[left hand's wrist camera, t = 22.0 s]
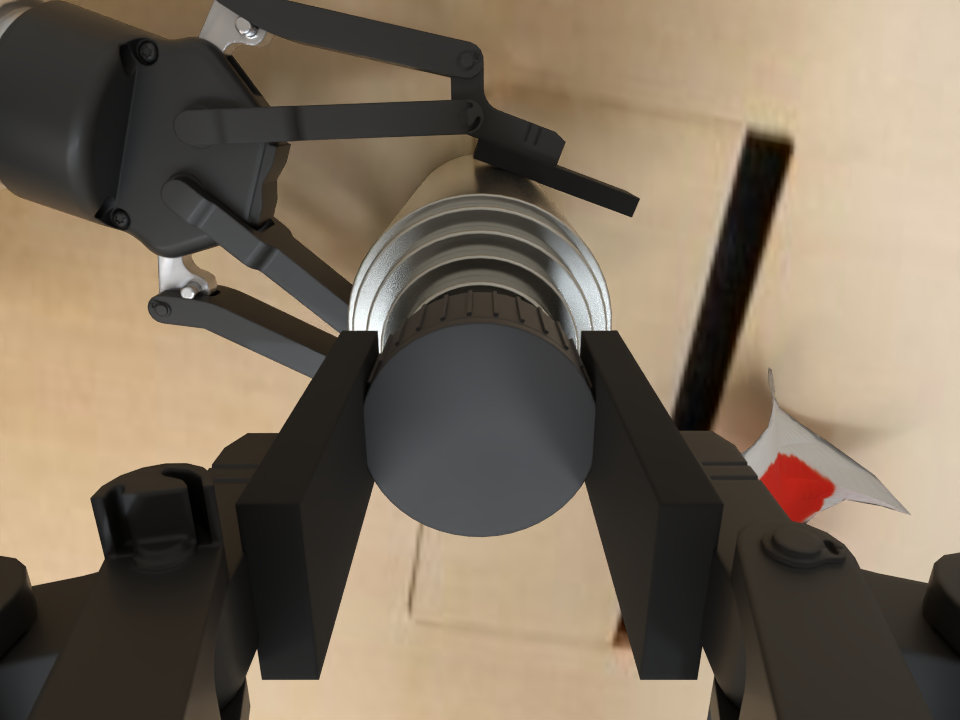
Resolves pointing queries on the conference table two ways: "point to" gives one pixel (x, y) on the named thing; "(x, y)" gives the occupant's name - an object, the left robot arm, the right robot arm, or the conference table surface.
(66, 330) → the conference table surface
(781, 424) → the fish
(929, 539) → the conference table surface
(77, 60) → the right robot arm
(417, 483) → the cap
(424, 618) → the conference table surface
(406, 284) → the bottle
